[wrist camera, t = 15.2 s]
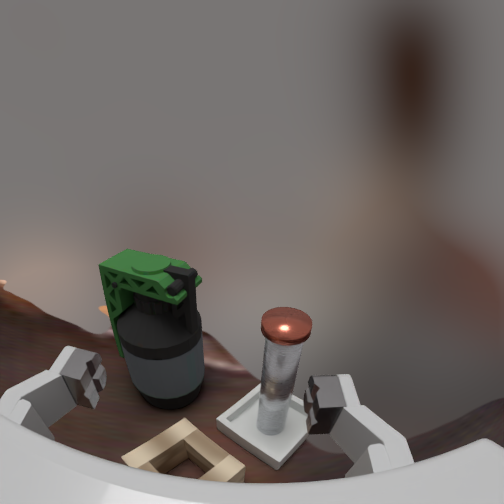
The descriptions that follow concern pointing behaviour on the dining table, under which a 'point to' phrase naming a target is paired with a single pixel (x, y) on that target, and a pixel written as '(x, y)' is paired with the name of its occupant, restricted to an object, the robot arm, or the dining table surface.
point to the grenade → (156, 324)
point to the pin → (280, 365)
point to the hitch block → (186, 454)
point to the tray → (260, 445)
